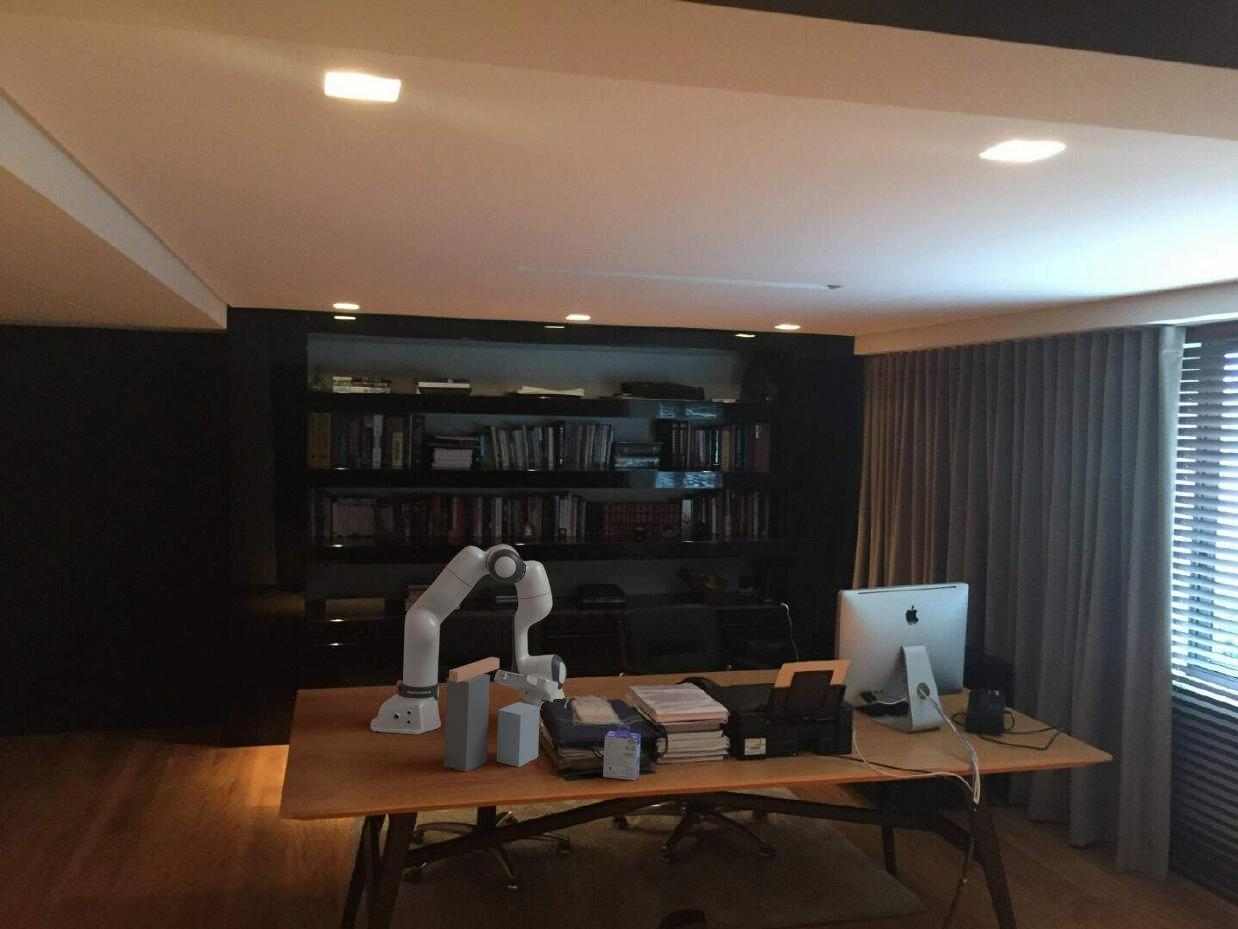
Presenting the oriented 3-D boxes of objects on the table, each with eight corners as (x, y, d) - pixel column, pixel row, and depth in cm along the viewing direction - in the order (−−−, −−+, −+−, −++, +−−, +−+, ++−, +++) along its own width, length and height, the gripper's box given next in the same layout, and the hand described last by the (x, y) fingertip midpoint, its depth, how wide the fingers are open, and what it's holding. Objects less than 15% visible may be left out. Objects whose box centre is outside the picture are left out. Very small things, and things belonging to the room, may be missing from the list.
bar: (491, 666, 301) (491, 656, 301) (499, 668, 299) (499, 658, 299) (449, 680, 283) (449, 670, 283) (457, 682, 282) (457, 672, 282)
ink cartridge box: (639, 774, 288) (641, 725, 287) (636, 781, 282) (638, 731, 281) (606, 771, 289) (608, 722, 289) (602, 777, 284) (604, 728, 283)
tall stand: (465, 756, 296) (468, 670, 295) (486, 762, 293) (489, 675, 291) (443, 766, 288) (446, 677, 286) (465, 772, 284) (468, 682, 283)
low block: (516, 752, 302) (517, 702, 301) (537, 757, 298) (539, 706, 297) (496, 761, 293) (498, 709, 293) (518, 767, 289) (520, 715, 289)
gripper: (510, 673, 326) (489, 660, 315) (562, 684, 316) (542, 670, 305) (504, 692, 323) (482, 679, 312) (557, 703, 313) (536, 690, 303)
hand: (512, 675), depth 309 cm, fingers open, 8 cm apart
